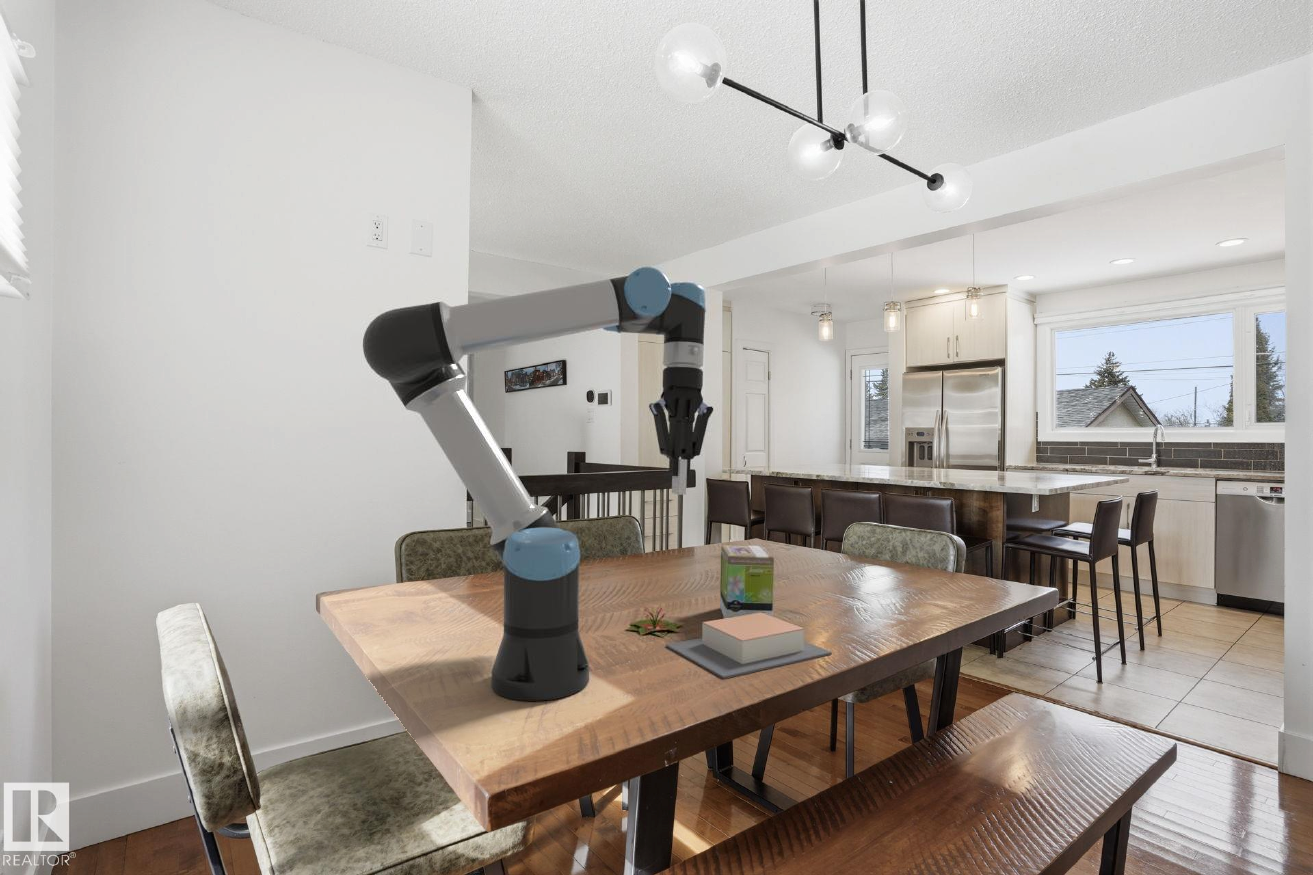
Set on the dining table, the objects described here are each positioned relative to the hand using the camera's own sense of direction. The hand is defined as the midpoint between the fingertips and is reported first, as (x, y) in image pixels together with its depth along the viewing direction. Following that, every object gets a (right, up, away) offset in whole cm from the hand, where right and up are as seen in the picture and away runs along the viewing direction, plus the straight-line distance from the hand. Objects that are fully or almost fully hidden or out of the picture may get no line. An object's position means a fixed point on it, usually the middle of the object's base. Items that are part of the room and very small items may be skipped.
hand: (678, 493), depth 116 cm
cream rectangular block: (+7, -26, -5) cm, 27 cm away
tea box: (+15, -29, +19) cm, 38 cm away
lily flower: (-5, -29, +11) cm, 31 cm away
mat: (+12, -28, -2) cm, 31 cm away
